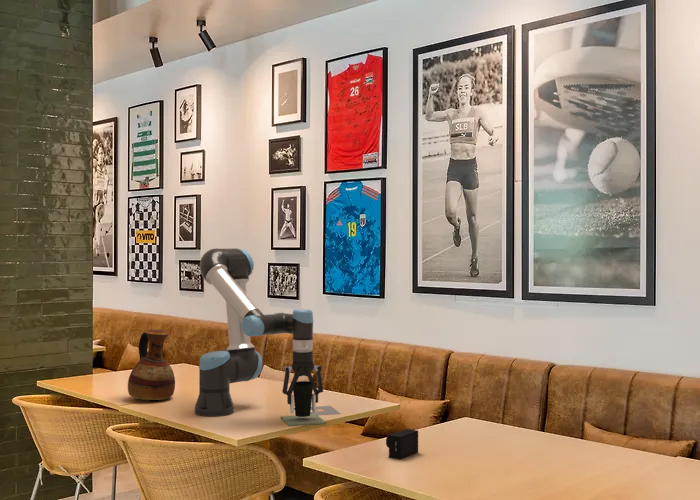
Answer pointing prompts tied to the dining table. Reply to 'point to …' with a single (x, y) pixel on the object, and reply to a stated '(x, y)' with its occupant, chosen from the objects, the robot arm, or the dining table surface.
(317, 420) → the mat
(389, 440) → the digital camera
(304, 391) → the cup
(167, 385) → the ceramic pitcher
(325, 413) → the tile
